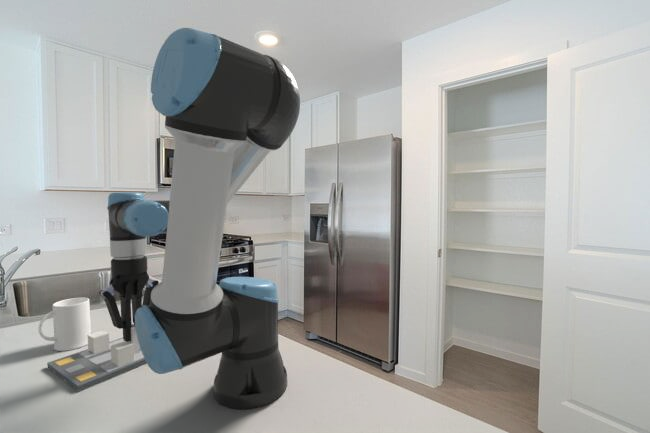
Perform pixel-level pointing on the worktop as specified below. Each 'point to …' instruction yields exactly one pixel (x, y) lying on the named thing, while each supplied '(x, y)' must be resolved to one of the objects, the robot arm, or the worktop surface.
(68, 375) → the switch bank
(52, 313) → the mug
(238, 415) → the worktop surface
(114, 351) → the white cube
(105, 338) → the off-white cube
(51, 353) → the worktop surface
